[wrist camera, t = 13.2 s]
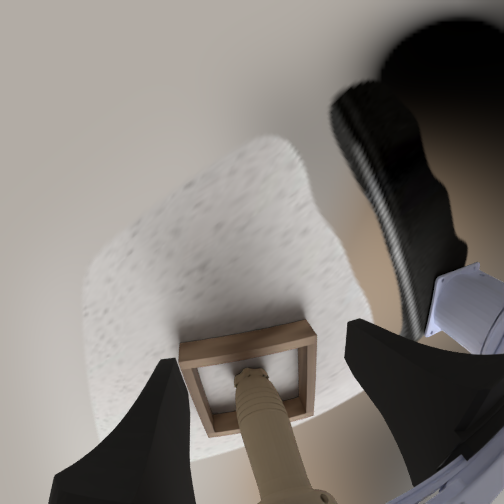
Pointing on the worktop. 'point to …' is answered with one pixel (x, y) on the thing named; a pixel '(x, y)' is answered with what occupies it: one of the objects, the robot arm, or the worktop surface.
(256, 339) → the collar
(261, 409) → the handle
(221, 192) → the worktop surface
